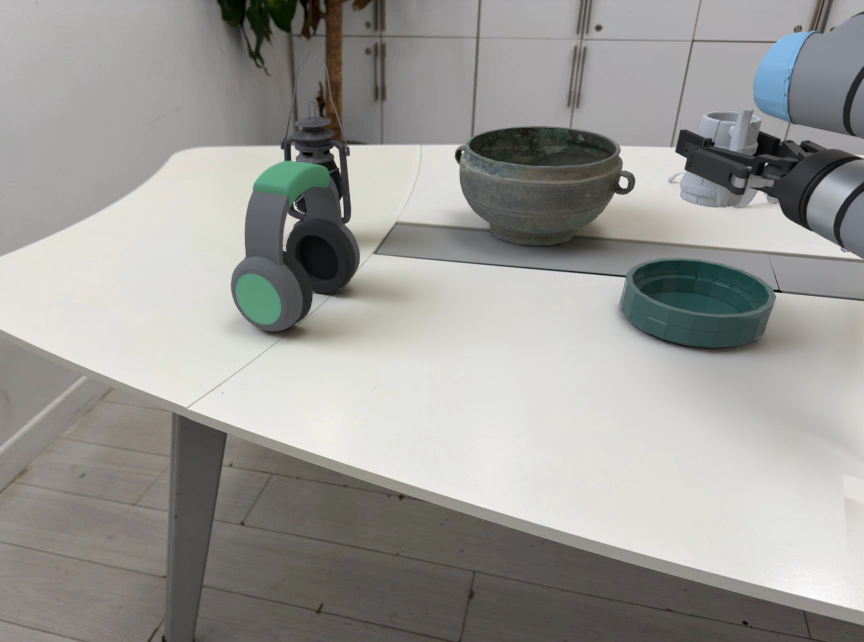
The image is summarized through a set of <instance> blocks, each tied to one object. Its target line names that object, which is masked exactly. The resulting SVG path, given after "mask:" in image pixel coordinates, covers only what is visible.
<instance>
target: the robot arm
mask: <svg viewBox="0 0 864 642" xmlns="http://www.w3.org/2000/svg"><path fill="white" fill-rule="evenodd" d="M752 88H753V89H752V90H753V93H752V95H753V101H754V103H755V105H756V107H757V109H758V110H759V111H760V112H761V113H762V114H765V115H767V116H770V117H773V118H775V119H779V120H782V121H784V122H787V123H789V124H791V125H796V126H797V125H798V126H803V127H808V128H812V129H818V130H821V131H827V132H831V133H836V134H839V135H840V134H841V135H845V136H849V137H854V138H859V139H862V140H864V7H863V8H862V9H860V10H859V11H857V12H856V13H855V14H853V15H852V16H851V17H850V18H848V19H846V20H845V21H844V22H842V23H841V24H839V25H837V27H835V28H833V29H832V30H831V31H828V32H826V33H820V31H818V30H810V31H808V32H799V31H798V32H792V33H789V34H787V35H784V36H783V37H781V38H779V39H778V40H776V41H775V43H773V44H772V46H771V47H769V49H768V50H767V52H766V53H765V54H764V55H763V57H762V59H761V60H760V62H759V64H758V66H757V68H756V71H755V74H754V79H753V82H752ZM757 143H758V147H757V150H756V152H755V153H754V154H753V156H751V155H747V154H743V153H739V152H735V151H731V150H727V149H723V148H719V147H715V146H714V145H715V142H713V141H712V138H704V137H702V136H700V135H697V133H695V132H693V131H690V130H688V129H686V128H685V129H684V128H683V129H680V130H679V133H678V138H677V141H676V145H675V149H674V153H676V154H678V155H679V156H681V157H683V158H685V159H686V161H685V165H684V171H685V172H686V171H688V172H690V173H692V174H695V175H697V176H699V177H702V178H704V179H706V180H709V181H711V182H713V183H716V184H718V185H720V186H723V187H725V188H727V189H728V190H729V191H730V192H731V193H733V194H735V195H743V194H744V193H745V190H746V187H749V188H751V189H755V190H758V192H762V193H763V194H764V193H767V195H768V196H770V197H773V198H777V199H778V201H779V202H778V204H779V208H780V210H781V213H782V215H784V217H785V218H787V220H789V221H791V222H792V223H795V224H796V225H798V226H799V227H802V228H803V229H805V230H807V231H810V232H812V233H815V234H817V235H818V236H820V237H822V238H824V239H825V240H827V241H829V242H830V243H833V244H834V245H837V246H838V247H840V251H841V252H843V253H851V254H853V255H855V256H856V257H859V259H862V260H864V157H861V156H858V155H856V154H854V153H850V152H848V151H845V150H843V149H837V148H826V147H824V146H822V145H820V144H818V143H816V142H814V141H812V140H809V139H805V140H801V141H800V144H798V143H797V142H795V141H794V140H792V139H785V140H782V139H781V138H780V137H777V136H775V135H772V134H769V133H767V132H764V131H762V130H759V133H758V137H757Z"/></svg>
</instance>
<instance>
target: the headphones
mask: <svg viewBox="0 0 864 642" xmlns="http://www.w3.org/2000/svg"><path fill="white" fill-rule="evenodd" d="M302 192H303V195H304V198H305V203H306V208H307V216H308V220H306V221H303V222H302V223H300V224H298V225H297V226H296V227H294V228H293V227H292V229H291V231H290V232H289V234H288V237H287V240H286V243H285V250H284V234H285V233H284V232H285V226H286V220H287V216H288V210H289V208H290V207H291V206H292V204H293V203H295V202H294V201H295V200H296V199H297V197H298V196H299V195H300V194H301V193H302ZM246 207H247V208H246V212H245V219H244V252H245V257H244V258H243V259H242V260H241V261H240V262H238V264H237V265H236V266H235V268H234V269H233V272H232V274H231V279H230V292H231V293H230V294H231V297H232V299H233V303H234V305H235V307H236V309H237V310H238V311H239V313H240V314H241V316H242V317H243V318H244V319H245V320H246V321H247V322H248V323H250V324H251V325H253V326H254V327H256V328H257V329H260V330H262V331H266V332H272V333H274V332H275V333H276V332H281V331H284V330H286V329H288V328H290V327H293V326H295V325H297V324H299V323H300V322H301V321H302V320H304V319H305V318H306V317H307V316H308V314H309V312H310V310H311V308H312V304H313V298H314V297H313V295H314V293H317V294H325V295H326V294H334V293H336V292H339V291H340V290H342V289H343V288H345V286H347V285H348V283H349V282H350V281H351V279H352V278H353V277H354V276H355V275H356V273H357V271H358V269H359V266H360V263H361V262H360V261H361V252H360V247H359V243H358V240H357V238H356V236H355V234H353V232H352V231H351V229H350V228H349V227H348V226H347V225H346V224H345V225H344V224H343V223H342V216H343V215H342V206H341V200H340V199H339V194H338V190H337V187H336V185H335V183H334V181H333V179H332V178H331V176H330V175H329V171H328V169H327V168H326V167H324V166H321V165H317V164H311V163H303V162H296V160H291V161H284V160H283V161H279V162H278V163H275V164H273V165H272V166H269V167H268V168H266V169H265V170H264V171H263V172H261V173H260V175H259V176H258V177H257V178H256V179H255V181H254V183H253V185H252V193H251V194H250V197H249V200H248V204H247V206H246ZM313 292H314V293H313Z"/></svg>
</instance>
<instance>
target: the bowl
mask: <svg viewBox="0 0 864 642" xmlns="http://www.w3.org/2000/svg"><path fill="white" fill-rule="evenodd" d="M621 150H622V149H621V147H620V145H619V143H617V142H616V141H615V140H614V139H612V138H610V137H608V136H607V135H604V134H601V133H598V132H594V131H590V130H585V129H580V128H579V129H578V128H572V127H564V126H552V125H551V126H550V125H549V126H548V125H525V126H524V125H522V126H510V127H504V128H503V127H502V128H496V129H491V130H485V131H483V132H480V133H477V134H475V135H473V136H471V137H469V139H467V141H466V142H465V144H462V145H459V146H458V147H457V148H456V149H455V152H454V159H455V161H456V163H457V164H458V165H459V171H458V172H459V175H458V176H459V185H460V188H461V192H462V194H463V197H464V199H465V201H466V202H467V205H469V207H470V208H471V210H472V211H473V212H474V213H475V214H476V215H477V216H479V217H480V218H481V219H482V220H484V221H486V222H487V223H489V231H490V233H491V234H492V236H494V237H495V238H498V239H499V240H502V241H504V242H506V243H507V242H508V243H510V244H516V245H520V246H528V247H529V246H531V247H532V246H533V247H535V246H536V247H545V246H556V245H561V244H564V243H567V242H569V241H570V240H572V239H573V237H574V236H575V234H576V232H577V229H580V228H583V227H584V226H587V225H589V224H591V223H592V222H593V221H594V220H596V219H597V218H598V217H599V216H601V214H603V212H604V210H605V209H606V208H607V206H608V205H609V203H610V202H611V200H612V199H613V197H614V195H615V194H616V195H619V196H620V195H621V196H625V195H628V194H629V193H631V192H633V190H634V189H635V186H636V177H635V175H634V173H632V172H631V171H628V170H623V166H624V161H623V159H622V157H621V156H620V154H621V152H622V151H621ZM621 177H622V178H624V179H627V187H625V188H624V187H621V185H620V181H621Z"/></svg>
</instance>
